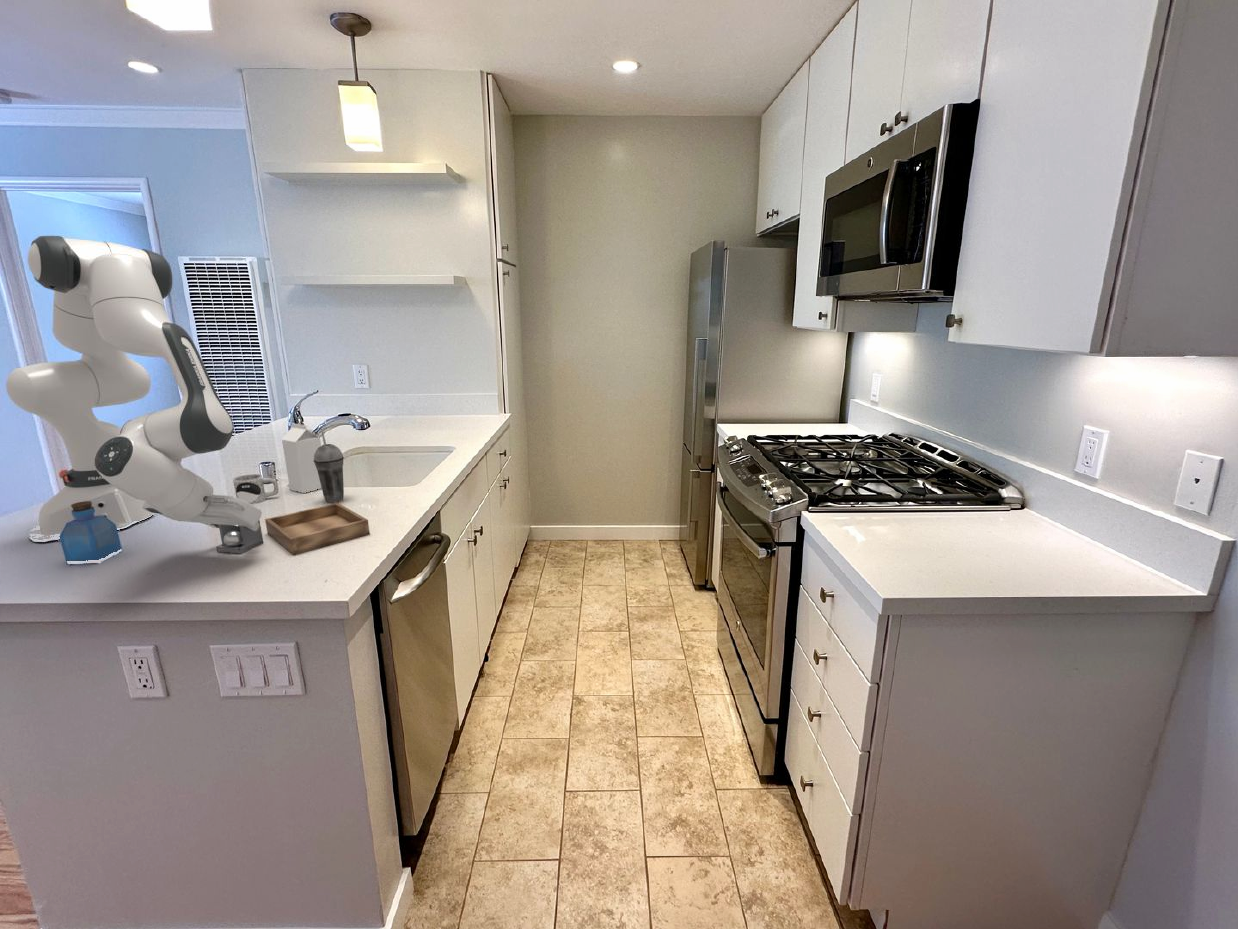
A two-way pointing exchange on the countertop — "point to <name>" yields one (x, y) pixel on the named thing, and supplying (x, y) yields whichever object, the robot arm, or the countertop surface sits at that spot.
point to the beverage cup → (330, 471)
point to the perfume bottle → (88, 535)
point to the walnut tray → (316, 528)
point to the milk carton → (301, 458)
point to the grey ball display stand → (248, 538)
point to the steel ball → (233, 539)
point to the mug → (253, 488)
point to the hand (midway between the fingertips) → (237, 526)
